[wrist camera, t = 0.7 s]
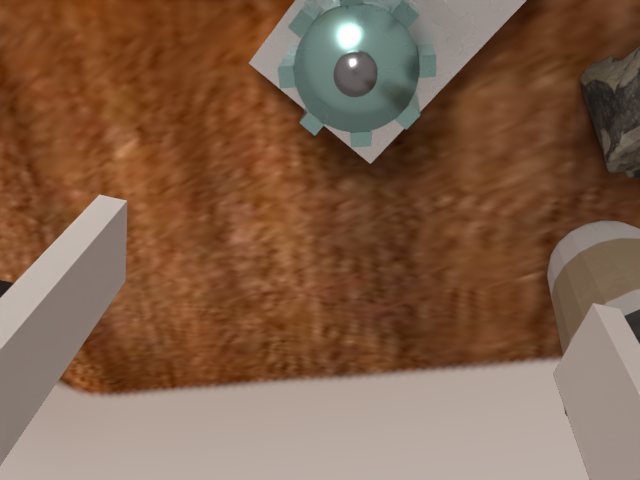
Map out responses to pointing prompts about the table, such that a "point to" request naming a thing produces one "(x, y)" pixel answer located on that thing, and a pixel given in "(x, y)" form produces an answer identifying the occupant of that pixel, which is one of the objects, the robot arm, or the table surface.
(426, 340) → the table surface
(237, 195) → the table surface
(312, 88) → the carrier
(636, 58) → the grey rock
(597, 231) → the coffee cup
